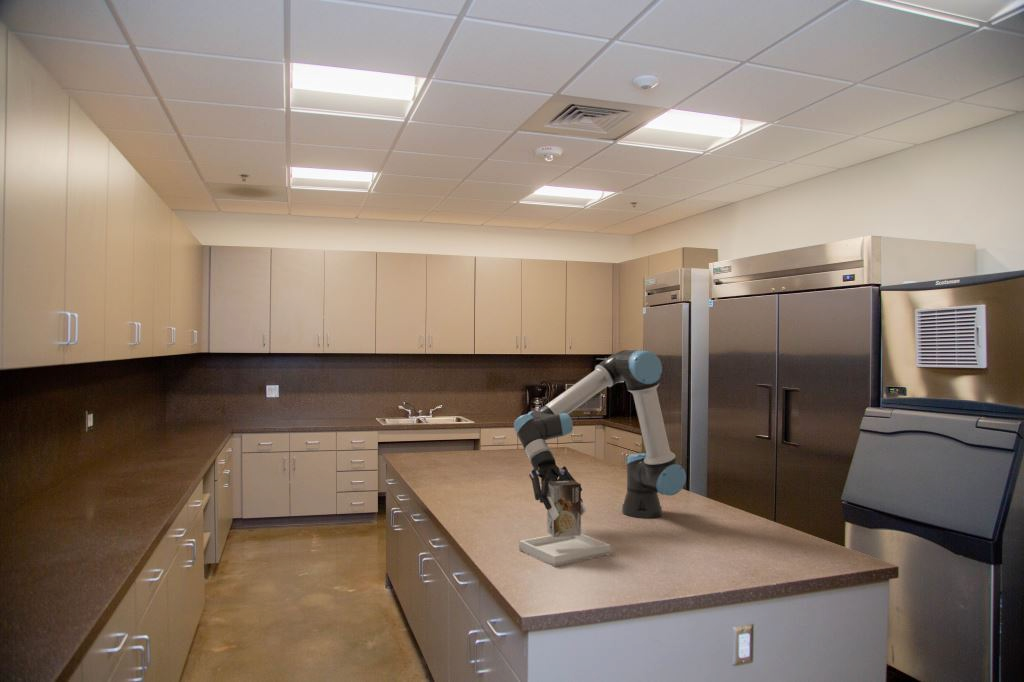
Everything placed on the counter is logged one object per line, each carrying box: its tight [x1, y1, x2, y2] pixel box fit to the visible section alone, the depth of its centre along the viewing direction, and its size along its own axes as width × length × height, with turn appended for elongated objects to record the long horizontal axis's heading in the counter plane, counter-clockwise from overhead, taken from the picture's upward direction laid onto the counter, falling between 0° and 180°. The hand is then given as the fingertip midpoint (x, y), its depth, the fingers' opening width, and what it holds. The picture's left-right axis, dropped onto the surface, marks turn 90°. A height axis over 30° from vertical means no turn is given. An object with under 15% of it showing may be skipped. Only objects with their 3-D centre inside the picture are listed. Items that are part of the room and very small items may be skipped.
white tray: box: [518, 533, 612, 568], centre depth 205 cm, size 18×22×3 cm
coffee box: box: [546, 480, 582, 537], centre depth 205 cm, size 9×6×16 cm
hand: (570, 515), depth 202 cm, fingers closed on coffee box, 10 cm apart
